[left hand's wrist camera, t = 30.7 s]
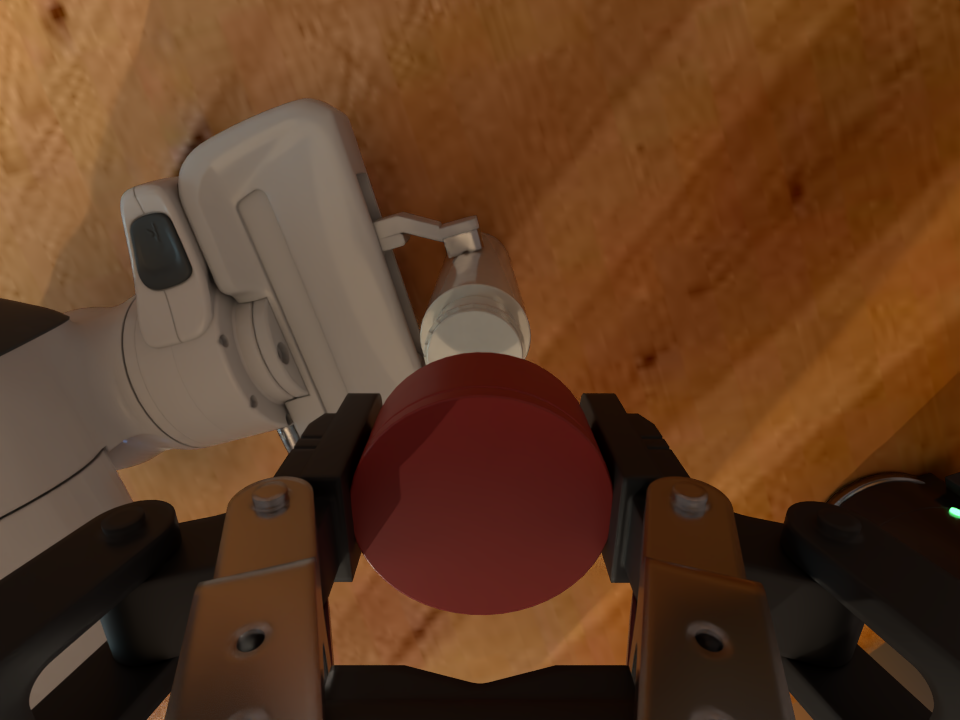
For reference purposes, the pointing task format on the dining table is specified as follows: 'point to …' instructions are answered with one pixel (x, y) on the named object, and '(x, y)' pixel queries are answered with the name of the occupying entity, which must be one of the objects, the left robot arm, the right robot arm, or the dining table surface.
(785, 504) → the dining table surface
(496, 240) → the bottle
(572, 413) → the lid
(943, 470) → the dining table surface
